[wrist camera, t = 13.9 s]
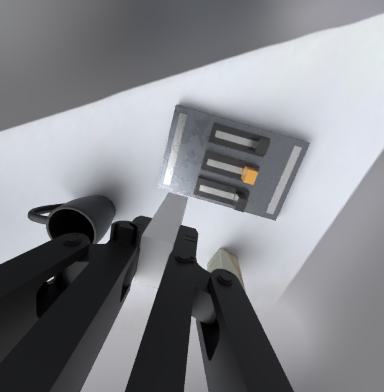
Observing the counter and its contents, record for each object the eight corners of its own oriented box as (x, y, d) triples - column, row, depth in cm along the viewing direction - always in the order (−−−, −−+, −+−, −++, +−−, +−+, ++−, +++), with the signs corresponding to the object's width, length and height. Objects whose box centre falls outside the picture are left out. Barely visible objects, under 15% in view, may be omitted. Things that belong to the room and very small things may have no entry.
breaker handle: (245, 166, 33) (248, 169, 30) (254, 168, 33) (258, 172, 30) (240, 177, 33) (243, 182, 31) (249, 180, 33) (253, 185, 31)
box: (223, 274, 43) (228, 321, 33) (206, 264, 43) (205, 308, 32) (238, 256, 42) (248, 299, 31) (220, 246, 41) (224, 286, 31)
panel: (177, 105, 34) (170, 100, 28) (305, 142, 34) (326, 145, 28) (159, 184, 38) (150, 195, 32) (273, 217, 38) (284, 233, 32)
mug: (65, 177, 39) (22, 191, 30) (125, 196, 40) (100, 216, 31) (61, 214, 42) (20, 237, 33) (117, 232, 42) (92, 260, 33)
